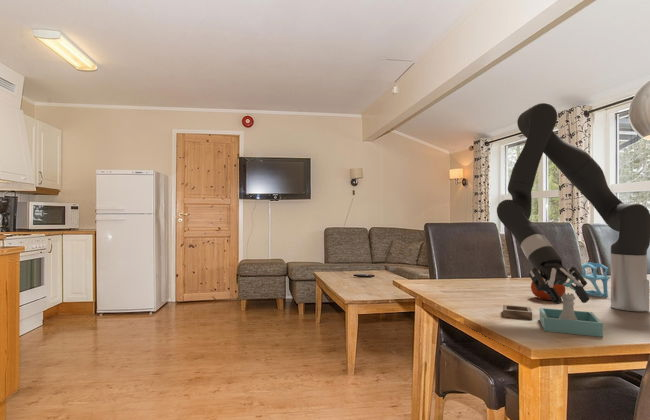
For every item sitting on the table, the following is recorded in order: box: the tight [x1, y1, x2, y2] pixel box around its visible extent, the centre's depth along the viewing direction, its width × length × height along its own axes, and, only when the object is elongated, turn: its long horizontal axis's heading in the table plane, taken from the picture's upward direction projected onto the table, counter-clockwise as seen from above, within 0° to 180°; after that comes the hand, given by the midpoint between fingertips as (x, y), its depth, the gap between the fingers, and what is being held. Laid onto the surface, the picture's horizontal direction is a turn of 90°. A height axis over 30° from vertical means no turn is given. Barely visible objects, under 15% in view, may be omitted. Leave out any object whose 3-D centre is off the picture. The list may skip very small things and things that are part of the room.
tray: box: [539, 307, 604, 338], centre depth 108 cm, size 13×13×3 cm
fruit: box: [530, 279, 566, 301], centre depth 144 cm, size 11×10×8 cm
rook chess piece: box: [559, 292, 578, 320], centre depth 108 cm, size 4×4×8 cm
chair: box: [581, 261, 611, 298], centre depth 152 cm, size 8×8×12 cm
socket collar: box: [502, 304, 533, 320], centre depth 121 cm, size 8×8×2 cm
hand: (573, 301), depth 107 cm, fingers open, 8 cm apart
